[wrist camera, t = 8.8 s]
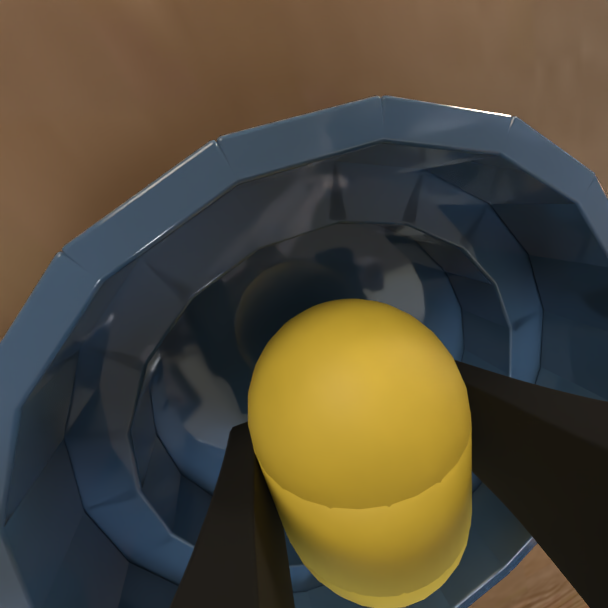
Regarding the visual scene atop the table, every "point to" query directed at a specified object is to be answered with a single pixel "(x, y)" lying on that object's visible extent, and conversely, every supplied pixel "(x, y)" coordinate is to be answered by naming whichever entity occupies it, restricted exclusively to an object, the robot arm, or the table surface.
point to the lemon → (365, 449)
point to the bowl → (271, 317)
